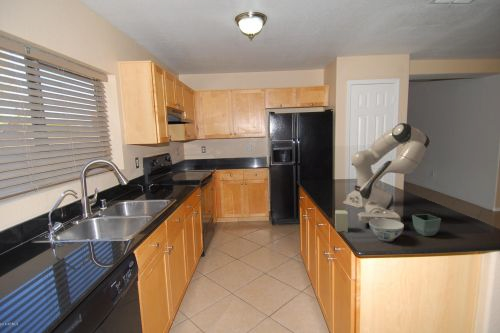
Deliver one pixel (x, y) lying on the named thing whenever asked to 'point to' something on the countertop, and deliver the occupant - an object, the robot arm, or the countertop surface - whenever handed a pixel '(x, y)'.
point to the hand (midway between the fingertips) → (381, 222)
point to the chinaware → (386, 228)
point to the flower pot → (426, 224)
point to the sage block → (341, 220)
